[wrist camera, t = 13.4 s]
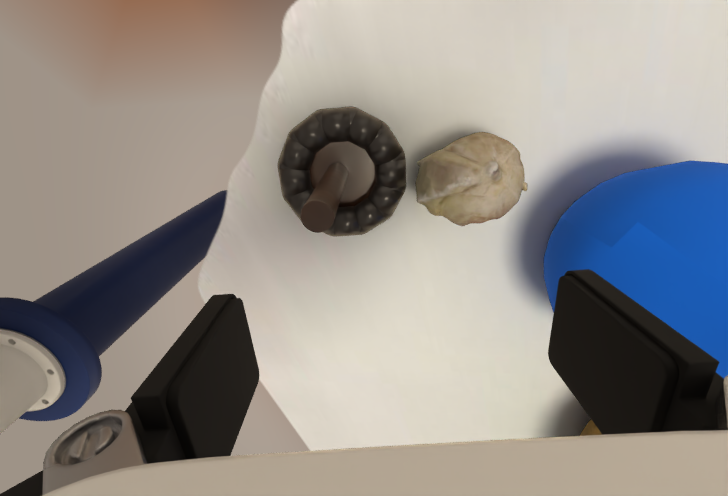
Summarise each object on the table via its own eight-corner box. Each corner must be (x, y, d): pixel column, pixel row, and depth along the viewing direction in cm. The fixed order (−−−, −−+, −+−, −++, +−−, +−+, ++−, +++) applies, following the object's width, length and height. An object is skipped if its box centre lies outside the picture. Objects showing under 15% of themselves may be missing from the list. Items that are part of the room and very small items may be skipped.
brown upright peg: (303, 213, 36) (262, 281, 22) (291, 131, 33) (236, 152, 19) (381, 207, 36) (388, 273, 22) (376, 125, 33) (381, 141, 19)
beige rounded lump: (411, 180, 37) (381, 204, 29) (457, 105, 33) (439, 106, 24) (488, 230, 36) (480, 270, 28) (546, 158, 32) (558, 179, 23)
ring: (293, 233, 36) (287, 243, 33) (273, 113, 32) (264, 114, 29) (406, 226, 36) (409, 235, 33) (402, 102, 31) (405, 102, 29)
